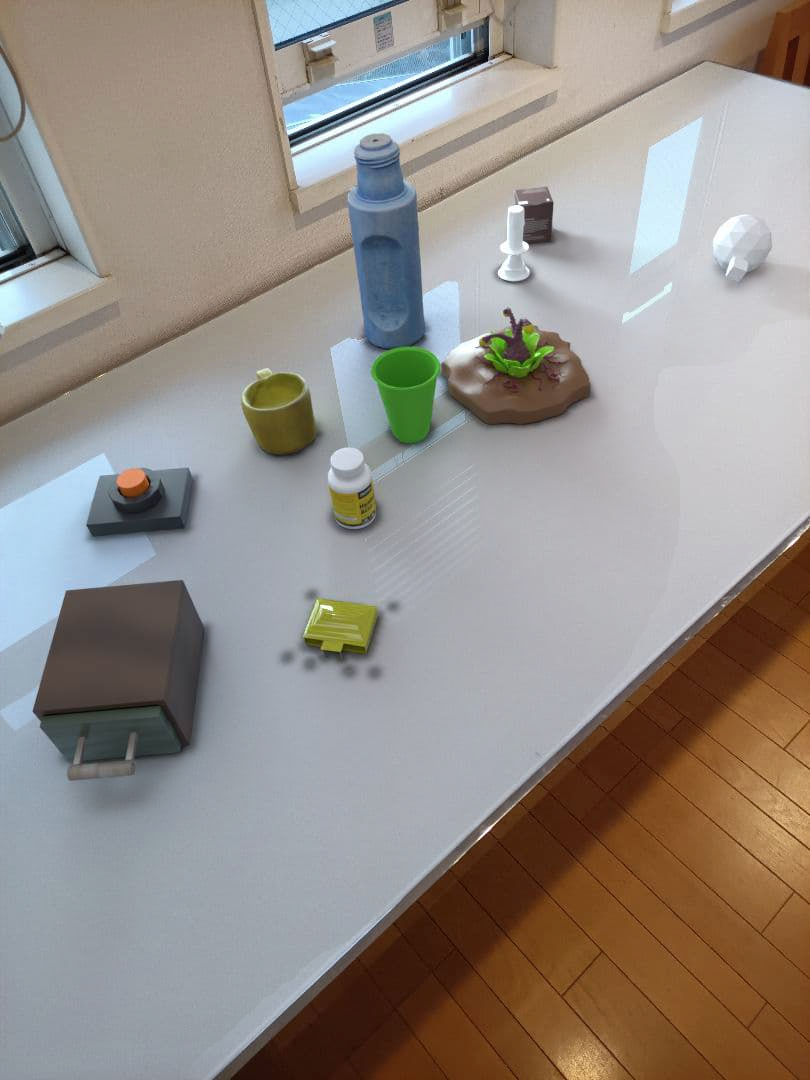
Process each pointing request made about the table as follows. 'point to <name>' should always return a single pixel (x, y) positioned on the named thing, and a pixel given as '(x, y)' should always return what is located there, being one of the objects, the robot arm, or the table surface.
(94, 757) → the drawer
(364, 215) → the bottle
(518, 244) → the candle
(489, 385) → the plant
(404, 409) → the cup
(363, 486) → the supplement bottle
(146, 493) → the control block
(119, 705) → the cabinet
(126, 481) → the button
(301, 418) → the mug
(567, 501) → the table surface
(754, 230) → the white faceted rounded piece
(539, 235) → the box
